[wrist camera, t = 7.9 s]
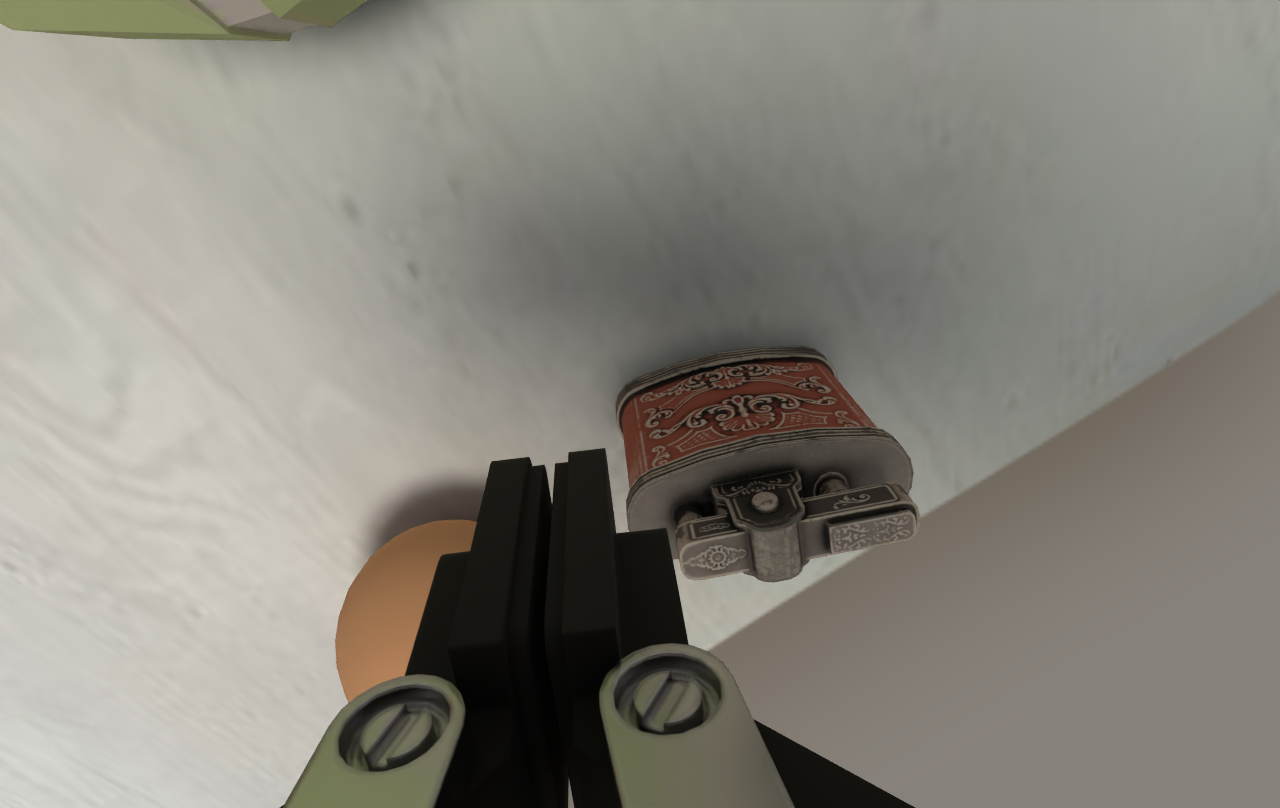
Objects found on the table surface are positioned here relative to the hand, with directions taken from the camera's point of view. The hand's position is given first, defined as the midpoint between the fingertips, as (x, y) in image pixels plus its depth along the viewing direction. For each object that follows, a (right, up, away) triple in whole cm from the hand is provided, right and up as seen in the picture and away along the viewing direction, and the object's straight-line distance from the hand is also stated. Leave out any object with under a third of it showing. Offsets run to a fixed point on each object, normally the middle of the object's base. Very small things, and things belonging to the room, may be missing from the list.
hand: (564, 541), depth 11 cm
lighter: (+4, +2, +17) cm, 17 cm away
